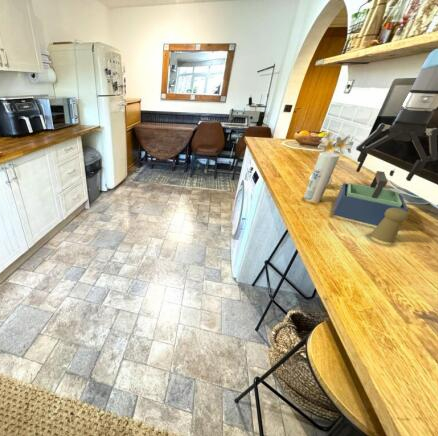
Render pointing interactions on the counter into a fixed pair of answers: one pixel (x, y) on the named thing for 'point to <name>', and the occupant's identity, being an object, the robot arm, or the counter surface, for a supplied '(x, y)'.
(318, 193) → the spray can
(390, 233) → the olive pepper mill
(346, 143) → the flower vase
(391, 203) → the sage bin
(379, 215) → the slate bin
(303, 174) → the counter surface
